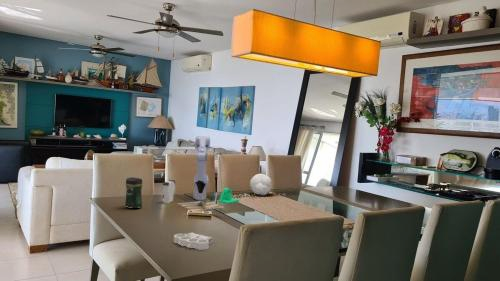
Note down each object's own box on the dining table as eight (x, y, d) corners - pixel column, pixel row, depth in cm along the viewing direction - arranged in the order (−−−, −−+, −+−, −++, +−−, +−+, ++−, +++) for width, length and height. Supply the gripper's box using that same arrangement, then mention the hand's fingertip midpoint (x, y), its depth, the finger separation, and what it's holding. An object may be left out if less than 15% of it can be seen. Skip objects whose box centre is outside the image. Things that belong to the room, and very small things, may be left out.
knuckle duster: (218, 244, 175) (198, 253, 163) (188, 236, 184) (166, 244, 172) (219, 237, 175) (198, 245, 162) (188, 229, 184) (166, 237, 172)
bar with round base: (200, 208, 233) (200, 204, 233) (197, 204, 245) (197, 200, 245) (208, 208, 234) (208, 204, 234) (205, 204, 246) (205, 200, 246)
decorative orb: (259, 191, 305) (260, 171, 304) (278, 194, 295) (279, 174, 294) (244, 194, 289) (244, 173, 288) (263, 198, 279) (264, 176, 278)
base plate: (177, 205, 245) (177, 199, 245) (207, 202, 257) (207, 196, 257) (191, 213, 228) (192, 206, 227) (224, 209, 240) (224, 203, 240)
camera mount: (227, 206, 250) (227, 190, 250) (218, 204, 255) (219, 188, 255) (239, 203, 259) (240, 188, 259) (231, 201, 264) (231, 186, 264)
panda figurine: (164, 201, 255) (164, 179, 255) (180, 203, 253) (181, 180, 252) (156, 205, 244) (156, 181, 243) (173, 207, 241) (173, 183, 240)
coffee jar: (144, 208, 235) (145, 177, 234) (134, 210, 229) (135, 179, 227) (132, 205, 240) (133, 176, 239) (122, 208, 233) (123, 177, 232)
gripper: (190, 170, 245) (189, 191, 246) (200, 173, 233) (200, 195, 234) (200, 169, 249) (199, 190, 250) (211, 173, 237) (210, 194, 238)
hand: (200, 193), depth 242 cm, fingers closed
